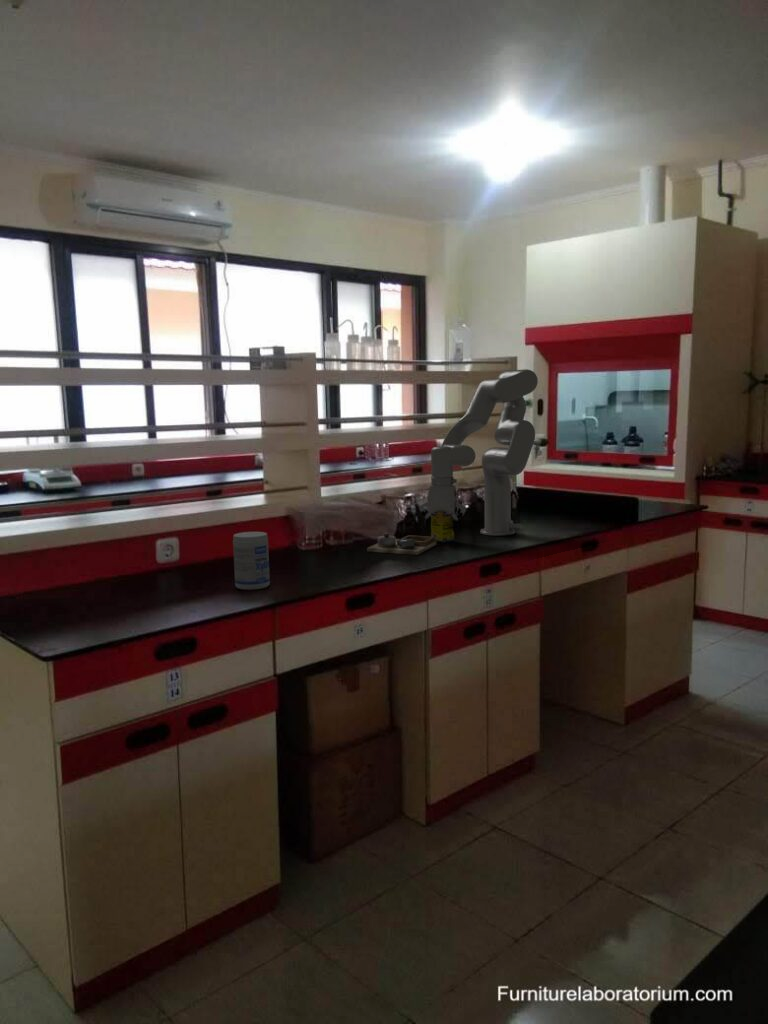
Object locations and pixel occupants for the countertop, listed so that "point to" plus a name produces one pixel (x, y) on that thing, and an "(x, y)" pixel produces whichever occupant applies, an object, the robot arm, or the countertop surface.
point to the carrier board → (392, 544)
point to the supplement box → (442, 527)
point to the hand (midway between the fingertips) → (442, 530)
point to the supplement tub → (251, 560)
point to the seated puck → (406, 544)
